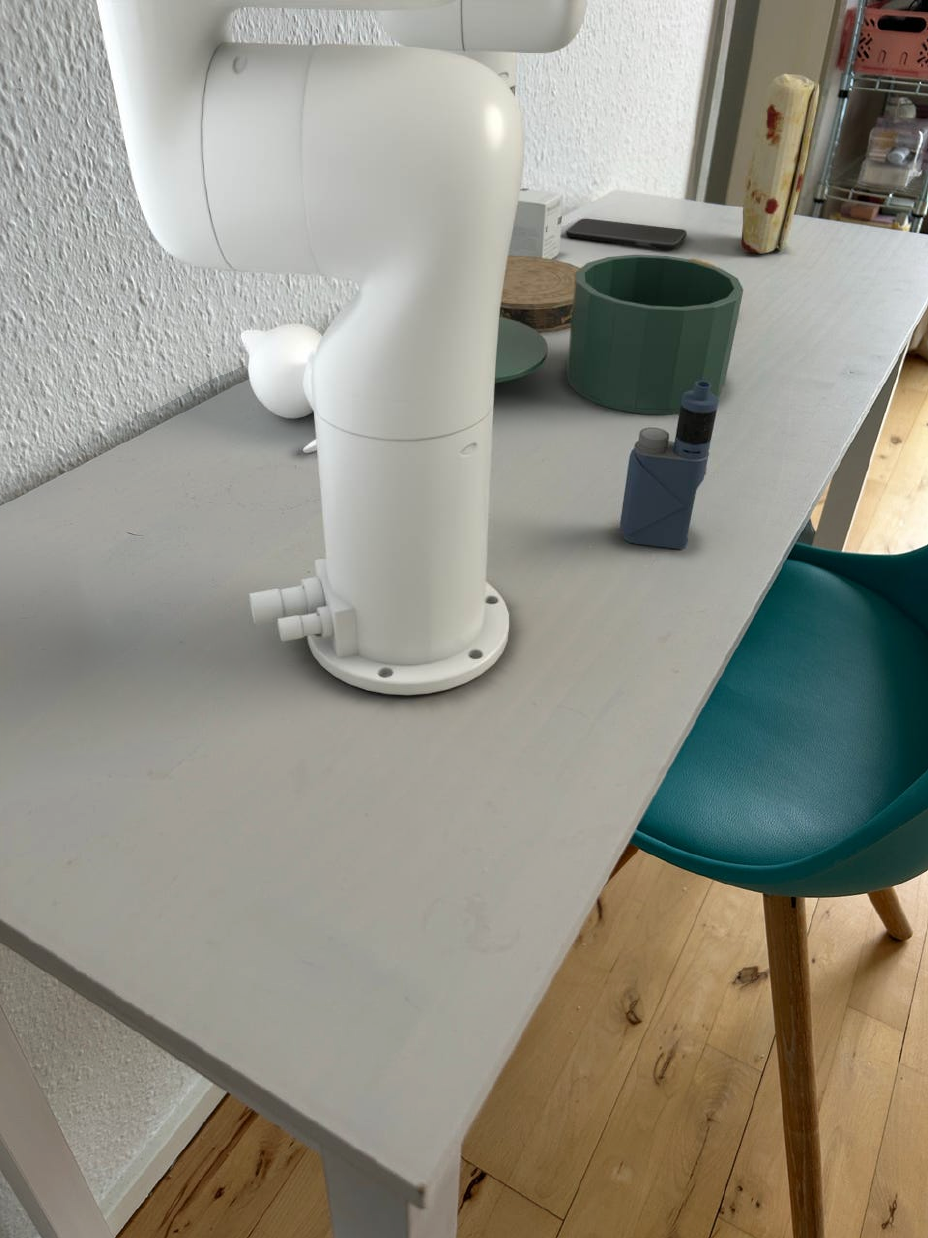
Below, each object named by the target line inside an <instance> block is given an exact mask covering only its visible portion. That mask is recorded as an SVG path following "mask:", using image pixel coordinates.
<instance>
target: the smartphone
mask: <svg viewBox="0 0 928 1238" xmlns="http://www.w3.org/2000/svg"><path fill="white" fill-rule="evenodd" d="M566 236H567V237H569V238H575V239H582V240H583V239H584V240H591V241H599V242H606V243H617V244H623V245H625V244H626V245H630V246H631V245H632V246H641V247H647V248H654V249H658V250H667V251H672V250H674V249H677V248H678V247H679V246H680V244H681V243H682V242H683V240H685V239H686V237H687V230H685V229H681V228H674V227H665V226H656V225H648V224H638V223H630V222H620V221H612V220H605V219H596V218H595V219H594V218H580V219H578V220H577V221H576V222H575V223H573V224H572V225H571V226H570V227H568V229H567V230H566Z"/></svg>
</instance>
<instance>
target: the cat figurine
mask: <svg viewBox="0 0 928 1238" xmlns="http://www.w3.org/2000/svg"><path fill="white" fill-rule="evenodd" d="M322 337H323V334H321V333H320V332H319V331H318V330H316V329H315V328H314V327H311V326H309V325H306V324H302V323H296V322H295V323H286V324H285V323H284V324H281V325H278V326H275V327H274V328H271V329H269V330H260V329H245V330H243V331H242V332H241V333H240V338H241V341H242V344H243V345H244V348H245V349H246V351H247V353H248V364H247V365H248V367H247V369H248V370H247V371H248V372H247V373H248V379H249V383H250V387H251V389H252V390H253V392H254V395H255V396H256V398H257V399H258V401H259V402H260V403H261V404H262V405H263V406H264V407H265V408H266V409H267V410H268V411H270V412H271V413H273V414H274V415H276V416H279V417H281V418H285V419H300V418H304V417H306V416H309V415H311V414H312V413H314V406H313V397H312V383H311V376H312V365H313V359H314V356H315V352H316V349H317V346H318V344H319V342H320V340H321V338H322ZM302 452H303V453H305V454H310V453H313V452H317V442H316V438H315V439H313V440H312V441H311V442H309V443H308V444H307V445H305V446H304V447H303V449H302Z"/></svg>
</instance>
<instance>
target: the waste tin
mask: <svg viewBox="0 0 928 1238" xmlns="http://www.w3.org/2000/svg"><path fill="white" fill-rule="evenodd" d="M689 259H690V258H683V257H677V256H670V255H660V254H659V255H657V254H626V255H625V254H624V255H615V256H614V255H613V256H606V257H603V258H600V259H596V260H592V261H588V262H587V263H585V264H584V265H583V266H581V267H579V268H580V269H579V270H578V271H577V272H576V276H575V287H574V298H573V309H572V320H571V327H570V331H569V344H568V355H567V364H566V366H567V367H566V368H567V372H566V373H567V374H566V375H567V376H566V378H567V382H568V384H569V386H570V387H571V388H572V389H573V390H574V391H575V392H576V393H577V394H578V395H580V396H581V397H583V398H584V399H586V400H588V401H590V402H592V403H594V404H597V405H600V406H602V407H604V408H605V407H606V408H609V409H611V410H612V409H613V410H616V411H621V412H627V413H632V414H633V413H634V414H641V415H655V416H656V415H657V416H658V415H676V414H677V415H679V413H680V407H681V402H682V396H683V394H684V393H685V392H687V391H691V390H694V386H695V382H697V381H707V382H709V383H711V390H710V392H711V393H713V394H715V395H716V396H717V397H718V398H720V397H721V394H722V391H723V388H724V387H725V385H726V379H727V374H728V369H729V364H730V358H731V354H732V351H733V350H732V349H733V345H734V344H733V343H734V339H735V334H736V329H737V324H738V320H739V314H740V310H741V304H742V299H743V294H744V288H743V285H742V284H741V282H740V280H739V278H738V277H737V276H735V275H733V274H732V273H730V272H728V271H726V270H725V269H723V268H720V267H719V266H716V265H715V266H716V267H715V266H711V265H708V264H705V263H702V262H699V261H696V260H689ZM718 267H719V268H718Z"/></svg>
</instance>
